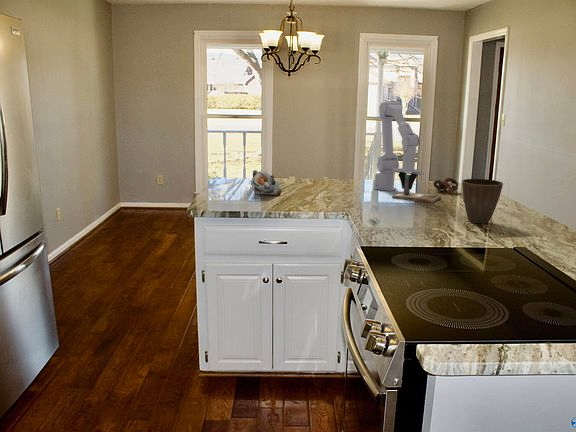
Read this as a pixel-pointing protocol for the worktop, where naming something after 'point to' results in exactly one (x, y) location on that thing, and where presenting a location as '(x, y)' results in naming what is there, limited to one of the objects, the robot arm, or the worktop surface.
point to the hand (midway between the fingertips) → (406, 188)
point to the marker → (406, 185)
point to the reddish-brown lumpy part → (446, 185)
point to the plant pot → (480, 198)
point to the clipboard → (417, 197)
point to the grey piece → (265, 183)
